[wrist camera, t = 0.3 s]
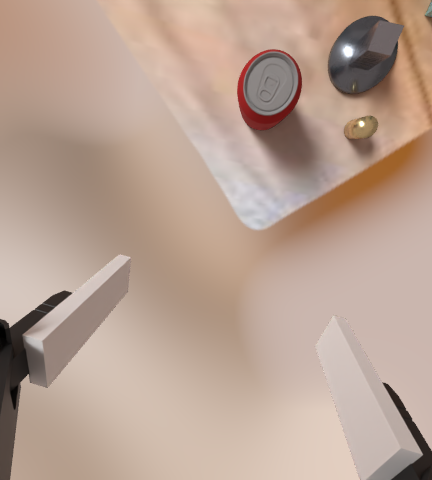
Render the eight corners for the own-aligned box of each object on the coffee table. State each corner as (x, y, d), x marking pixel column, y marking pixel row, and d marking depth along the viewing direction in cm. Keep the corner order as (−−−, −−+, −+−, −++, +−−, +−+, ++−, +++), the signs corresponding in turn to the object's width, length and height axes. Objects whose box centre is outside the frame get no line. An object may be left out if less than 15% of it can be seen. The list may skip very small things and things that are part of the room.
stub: (349, 117, 32) (361, 113, 29) (366, 121, 32) (381, 118, 28) (340, 136, 33) (352, 135, 30) (358, 141, 33) (371, 140, 30)
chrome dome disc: (344, 12, 28) (367, -21, 23) (406, 27, 28) (446, -3, 22) (318, 86, 31) (333, 73, 26) (374, 100, 31) (401, 89, 26)
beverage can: (295, 92, 32) (320, 63, 21) (270, 138, 35) (281, 134, 24) (254, 69, 32) (257, 27, 21) (232, 118, 34) (224, 104, 23)
